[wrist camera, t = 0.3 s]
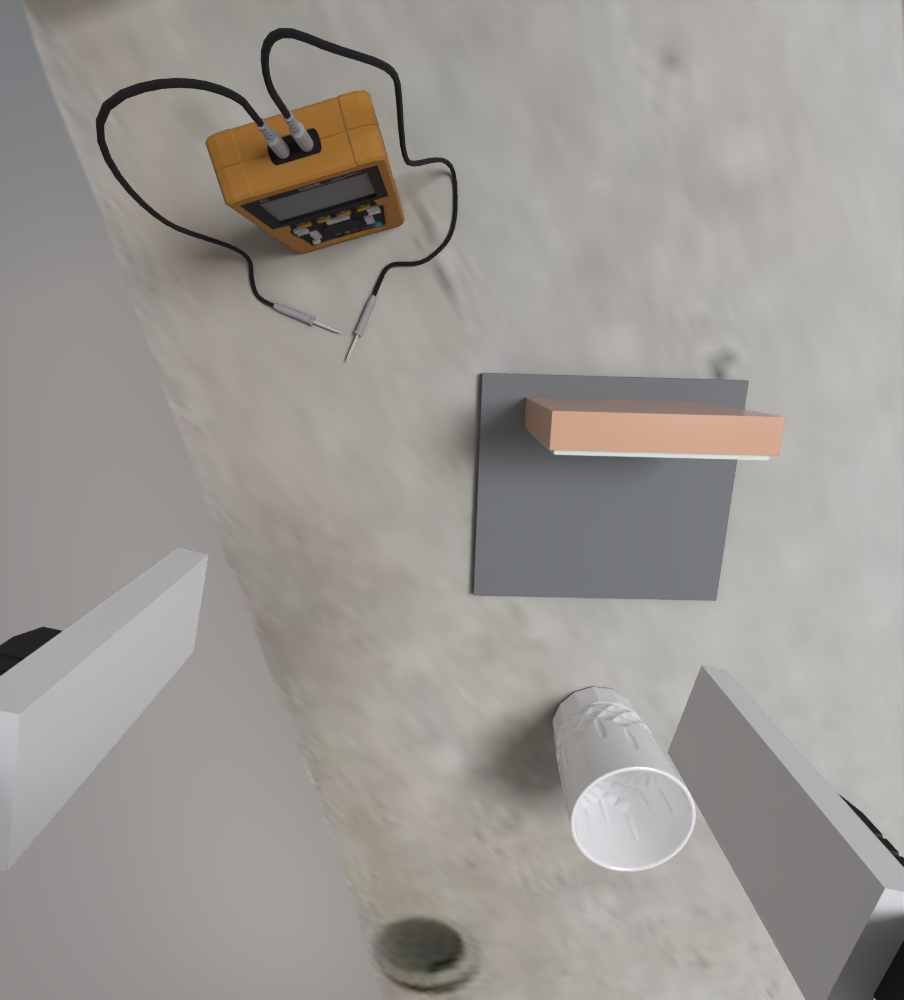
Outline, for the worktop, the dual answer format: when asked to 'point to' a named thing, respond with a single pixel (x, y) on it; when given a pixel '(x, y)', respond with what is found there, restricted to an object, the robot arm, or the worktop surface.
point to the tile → (652, 429)
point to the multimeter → (300, 167)
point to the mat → (597, 500)
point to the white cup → (618, 784)
